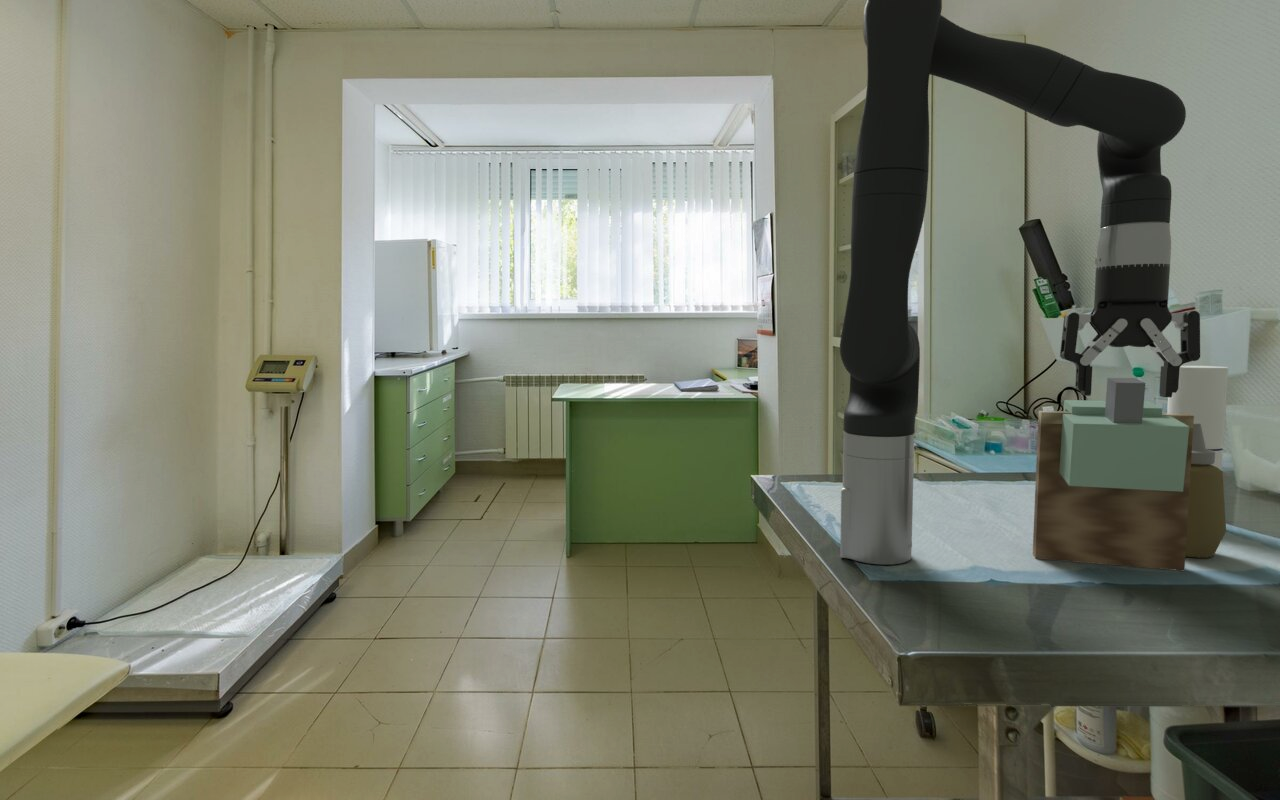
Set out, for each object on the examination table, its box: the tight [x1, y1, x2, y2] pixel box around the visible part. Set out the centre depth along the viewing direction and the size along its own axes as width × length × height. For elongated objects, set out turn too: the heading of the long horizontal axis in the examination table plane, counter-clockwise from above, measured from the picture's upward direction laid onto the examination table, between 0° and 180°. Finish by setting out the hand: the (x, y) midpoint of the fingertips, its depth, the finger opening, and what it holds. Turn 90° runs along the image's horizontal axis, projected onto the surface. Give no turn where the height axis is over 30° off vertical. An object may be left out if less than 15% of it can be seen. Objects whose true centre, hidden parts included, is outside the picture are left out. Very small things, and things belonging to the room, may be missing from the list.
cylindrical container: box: [1166, 365, 1229, 471], centre depth 112 cm, size 7×7×25 cm
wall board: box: [1032, 410, 1194, 571], centre depth 98 cm, size 17×7×20 cm, turn 71°
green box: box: [1059, 377, 1189, 492], centre depth 92 cm, size 12×11×13 cm
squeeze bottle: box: [1185, 423, 1227, 558], centre depth 99 cm, size 8×8×18 cm
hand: (1125, 396), depth 90 cm, fingers open, 8 cm apart
